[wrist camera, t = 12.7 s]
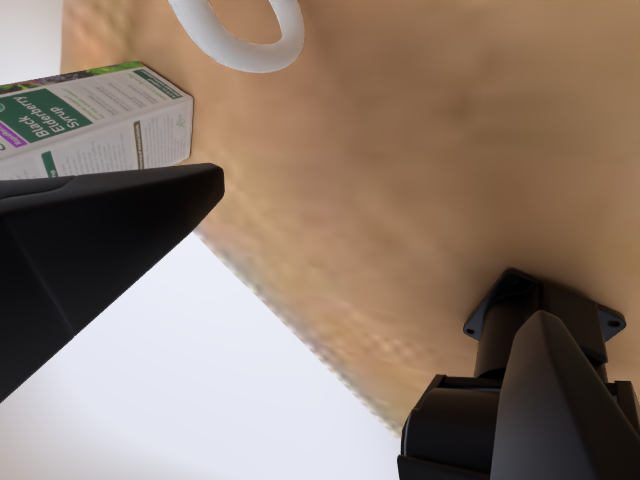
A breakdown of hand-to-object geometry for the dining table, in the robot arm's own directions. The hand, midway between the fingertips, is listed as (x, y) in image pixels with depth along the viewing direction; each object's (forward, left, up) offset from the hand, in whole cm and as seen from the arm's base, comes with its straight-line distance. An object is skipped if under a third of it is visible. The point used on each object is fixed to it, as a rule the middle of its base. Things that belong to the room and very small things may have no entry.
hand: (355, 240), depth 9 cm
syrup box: (-6, +21, -12) cm, 25 cm away
